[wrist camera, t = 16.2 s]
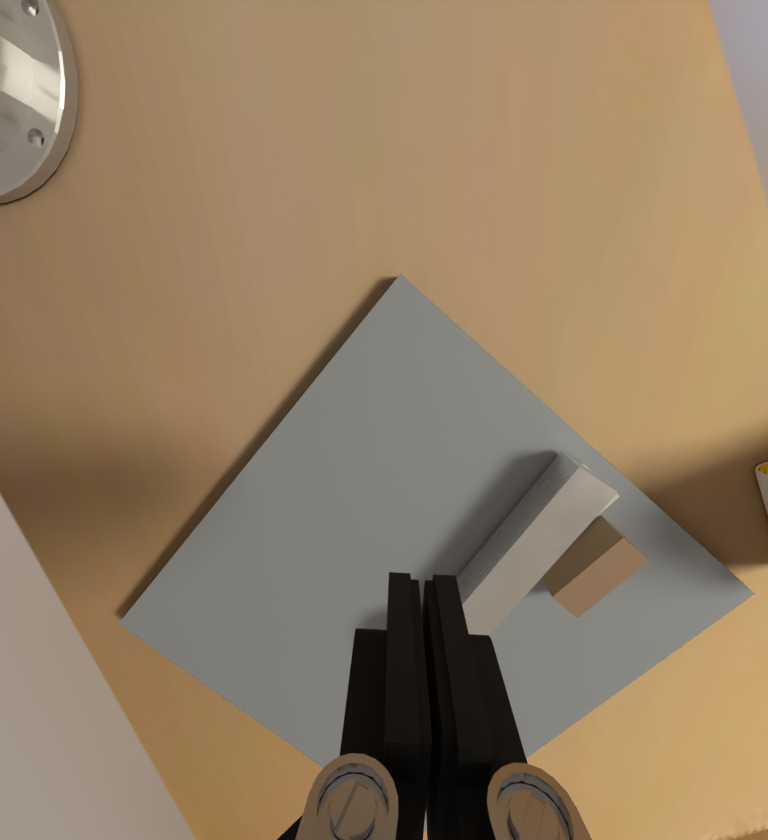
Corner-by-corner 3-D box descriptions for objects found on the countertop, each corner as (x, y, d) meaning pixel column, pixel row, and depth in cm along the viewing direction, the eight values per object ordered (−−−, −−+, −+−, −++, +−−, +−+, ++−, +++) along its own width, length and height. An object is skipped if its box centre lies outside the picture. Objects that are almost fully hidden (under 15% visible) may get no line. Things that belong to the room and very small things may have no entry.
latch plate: (130, 611, 28) (90, 652, 25) (401, 276, 21) (398, 267, 18) (419, 816, 31) (420, 877, 28) (738, 580, 24) (793, 624, 21)
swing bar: (443, 666, 26) (447, 710, 23) (392, 637, 25) (389, 677, 23) (606, 480, 22) (636, 505, 19) (548, 442, 22) (570, 461, 19)
